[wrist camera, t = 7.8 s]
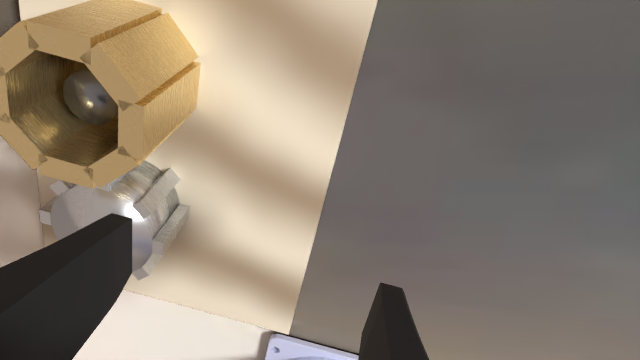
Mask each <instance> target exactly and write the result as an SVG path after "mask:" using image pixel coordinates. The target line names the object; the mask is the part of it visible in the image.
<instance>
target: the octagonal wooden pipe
mask: <svg viewBox="0 0 640 360" xmlns="http://www.w3.org/2000/svg"><path fill="white" fill-rule="evenodd" d="M198 57H199V56H198V54H197V53H196V52H195V50H194V49H193V47H192V46H191V45H190V43H189V42H188V40H187V39H186V37H185V36H184V35H183V33H182V32H181V30H180V29H179V28H178V26H177V25H176V23H175V22H174V20H173V19H172V18H171V16H170V15H169V13H165V14H163V15H162V8H160V7H156V6H152V5H149V4H145V3H141V2H138V1H134V0H91V1H87V2H84V3H81V4H77V5H74V6H70V7H67V8H64V9H60V10H57V11H53V12H50V13H47V14H43V15H40V16H36V17H33V18H30V19H26V20H23V21H19V22H18V23H17V24H16V25H15V26H13V27H12V28H11V29H10V30H9V31H7V32H6V33H5V34H4V35H3V36H2V37H0V135H1V136H2V137H3V138H4V139H5V140H6V141H7V142H8V144H9V145H10V146H11V147H12V148H13V149H14V150H15V151H16V152H17V153H18V154H19V155H20V156H21V157H22V159H23V160H24V161H25V162H26V163H27V164H28V165H29V166H30V167H31V168H32V169H33V170H34V169H35V168H37V167H39V171H40V174H41V175H45V176H48V177H52V178H56V179H59V180H63V181H66V182H70V183H73V184H77V185H81V186H84V187H88V188H91V189H94V188H95V187H96V186H98V187H99V188H101V187H103V186H105V185H107V184H108V183H110V182H112V181H113V180H115V179H117V178H119V177H120V176H122V175H124V174H125V173H127V172H129V171H131V170H132V169H134V168H136V167H137V166H139V165H140V164H141V163H142V162H143V161H144V160H145V159H146V158H147V157H148V156H149V155H150V154H151V153H152V152H153V151H154V150H155V149H156V148H157V147H158V146H159V145H160V144H162V143H163V142H164V141H165V140H166V139H167V138H168V137H169V136H170V135H171V134H172V133H173V132H174V131H175V130H176V129H177V128H178V127H179V126H180V125H181V124H182V123H183V122H184V121H185V120H186V119H187V118H188V117H189V116H190V115H191V114H192V113H193V110H194V109H196V106H197V96H198V87H199V77H200V67H201V63H199V62H195V61H194V60H196V59H197V58H198ZM85 67H88V69H89V70H90V71H91V72H92V74H93V75H94V76H95V77H96V79H97V80H98V81H99V82H100V83H101V85H102V86H103V87H104V88H105V90H106V91H107V92H108V93H109V95H110V96H111V97H112V98H113V100H114V101H115V102H116V103H117V105H118V116H117V117H115V118H114V119H113V120H111V121H110V122H108V123H106V124H103V125H93V124H89V123H86V122H84V121H82V120H81V119H79V118H78V117H77V116H75V115H74V114H73V112H72V111H71V110H70V109H69V107H68V106H67V104H66V101H65V99H64V94H63V86H64V83H65V81H66V79H67V78H68V77H69V76H70V75H71V74H73V73H75V72H77V71H79V70H81V69H83V68H85Z"/></svg>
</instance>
